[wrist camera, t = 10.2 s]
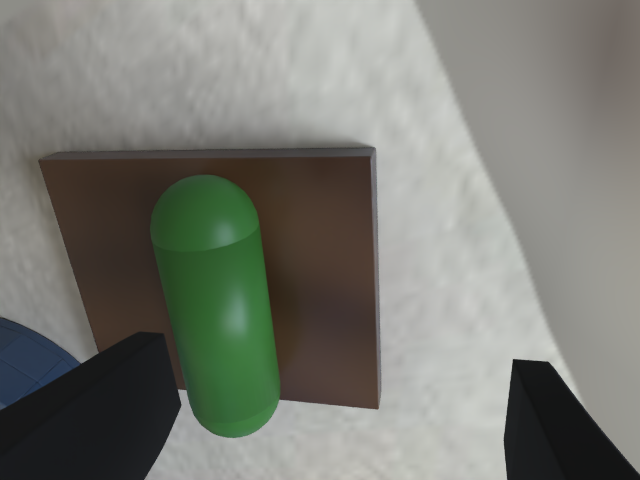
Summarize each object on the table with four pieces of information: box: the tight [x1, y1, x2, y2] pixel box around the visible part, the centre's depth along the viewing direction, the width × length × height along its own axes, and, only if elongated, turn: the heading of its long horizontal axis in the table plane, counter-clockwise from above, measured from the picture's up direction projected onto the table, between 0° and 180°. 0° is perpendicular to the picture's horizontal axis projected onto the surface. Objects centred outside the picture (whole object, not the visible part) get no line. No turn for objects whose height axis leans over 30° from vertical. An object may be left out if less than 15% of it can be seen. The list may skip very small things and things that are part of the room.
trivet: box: [39, 147, 381, 409], centre depth 21 cm, size 11×13×1 cm
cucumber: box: [150, 175, 280, 438], centre depth 18 cm, size 11×4×4 cm
